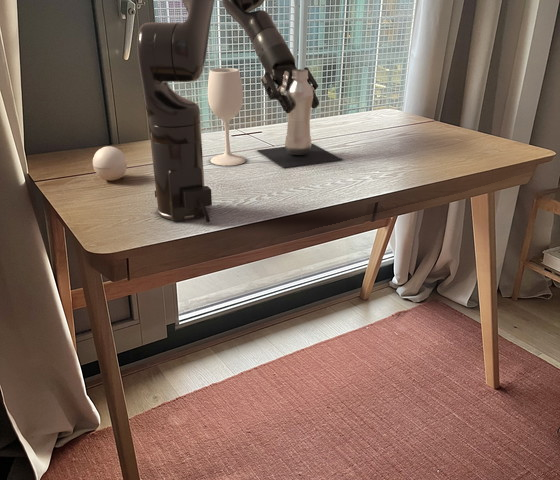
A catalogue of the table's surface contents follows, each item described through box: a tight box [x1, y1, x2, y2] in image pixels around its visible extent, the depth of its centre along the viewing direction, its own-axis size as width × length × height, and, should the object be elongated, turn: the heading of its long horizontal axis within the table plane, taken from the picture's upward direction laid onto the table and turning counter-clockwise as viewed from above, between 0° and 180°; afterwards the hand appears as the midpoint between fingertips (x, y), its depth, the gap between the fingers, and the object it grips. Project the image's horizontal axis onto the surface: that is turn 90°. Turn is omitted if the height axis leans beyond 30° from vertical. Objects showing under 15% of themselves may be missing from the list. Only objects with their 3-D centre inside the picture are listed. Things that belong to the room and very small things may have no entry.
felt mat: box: [257, 142, 343, 169], centre depth 144 cm, size 16×16×1 cm
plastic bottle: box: [284, 68, 313, 155], centre depth 139 cm, size 6×7×20 cm
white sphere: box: [82, 145, 128, 182], centre depth 125 cm, size 10×7×7 cm
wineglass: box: [207, 67, 247, 167], centre depth 135 cm, size 9×9×21 cm
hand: (303, 109), depth 138 cm, fingers open, 8 cm apart
